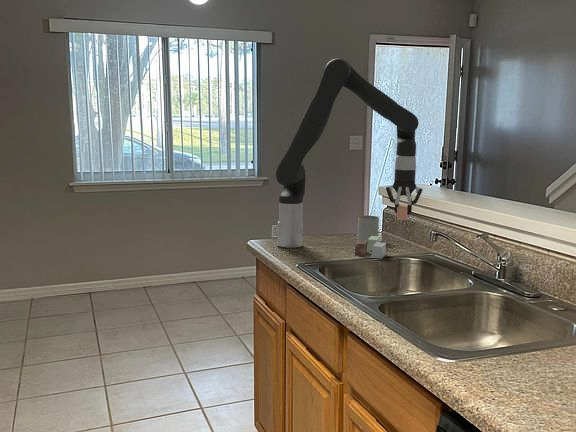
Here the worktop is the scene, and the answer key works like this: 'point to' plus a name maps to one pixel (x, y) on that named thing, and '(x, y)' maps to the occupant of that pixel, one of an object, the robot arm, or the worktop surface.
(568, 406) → the worktop surface
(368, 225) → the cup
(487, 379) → the worktop surface
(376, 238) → the sage brick
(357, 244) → the walnut brick
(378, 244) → the grey brick
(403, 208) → the terracotta brick
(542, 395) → the worktop surface
